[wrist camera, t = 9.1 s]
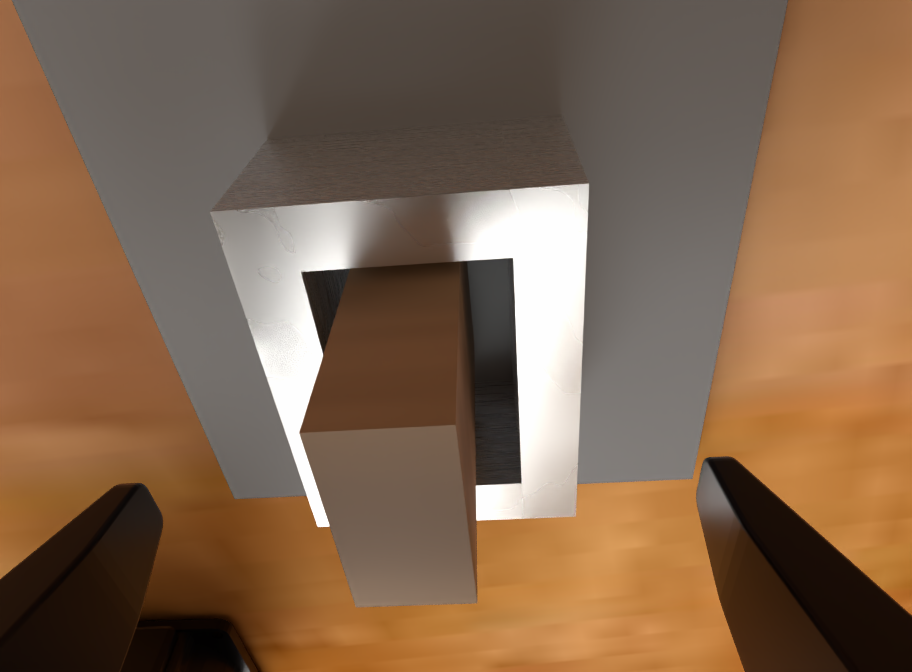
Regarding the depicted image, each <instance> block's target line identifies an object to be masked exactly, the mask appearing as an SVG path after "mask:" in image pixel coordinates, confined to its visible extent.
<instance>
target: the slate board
mask: <svg viewBox="0 0 912 672" xmlns="http://www.w3.org/2000/svg"><path fill="white" fill-rule="evenodd" d="M12 2H13V4H14V6H15V9H16V11H17V13H18V15H19V18H20V20H21V22H22V24H23V26H24V29H25V31H26V33H27V35H28V38H29V40H30V42H31V44H32V47H33V49H34V51H35V53H36V56H37V58H38V60H39V62H40V65H41V67H42V69H43V71H44V73H45V76H46V78H47V80H48V82H49V85H50V87H51V89H52V91H53V94H54V96H55V98H56V100H57V103H58V105H59V107H60V109H61V112H62V114H63V116H64V118H65V121H66V123H67V125H68V127H69V129H70V132H71V134H72V136H73V138H74V141H75V143H76V145H77V147H78V150H79V152H80V154H81V156H82V159H83V161H84V163H85V165H86V168H87V170H88V172H89V174H90V176H91V179H92V181H93V183H94V185H95V188H96V190H97V192H98V194H99V197H100V199H101V201H102V203H103V206H104V208H105V210H106V212H107V215H108V217H109V219H110V221H111V223H112V226H113V228H114V230H115V232H116V235H117V237H118V239H119V241H120V244H121V246H122V248H123V250H124V253H125V255H126V257H127V259H128V262H129V264H130V266H131V268H132V270H133V273H134V275H135V277H136V279H137V282H138V284H139V286H140V288H141V291H142V293H143V295H144V297H145V300H146V302H147V304H148V306H149V309H150V311H151V313H152V315H153V318H154V320H155V322H156V324H157V326H158V329H159V331H160V333H161V335H162V338H163V340H164V342H165V344H166V347H167V349H168V351H169V353H170V356H171V358H172V360H173V362H174V365H175V367H176V369H177V371H178V373H179V376H180V378H181V380H182V382H183V385H184V387H185V389H186V391H187V394H188V396H189V398H190V400H191V403H192V405H193V407H194V409H195V412H196V414H197V416H198V418H199V420H200V423H201V425H202V427H203V429H204V432H205V434H206V436H207V438H208V441H209V443H210V445H211V447H212V450H213V452H214V454H215V456H216V459H217V461H218V463H219V465H220V467H221V470H222V472H223V474H224V476H225V479H226V481H227V483H228V485H229V488H230V490H231V492H232V494H233V497H234V499H246V498H269V497H292V496H307V494H306V491H305V488H304V485H303V482H302V480H301V477H300V474H299V471H298V468H297V465H296V462H295V459H294V456H293V453H292V450H291V447H290V444H289V442H288V439H287V436H286V433H285V430H284V427H283V424H282V421H281V418H280V415H279V412H278V409H277V406H276V404H275V401H274V398H273V395H272V392H271V389H270V386H269V383H268V380H267V377H266V374H265V371H264V368H263V365H262V363H261V360H260V357H259V354H258V351H257V348H256V345H255V342H254V339H253V336H252V333H251V330H250V327H249V325H248V322H247V319H246V316H245V313H244V310H243V307H242V304H241V301H240V298H239V295H238V292H237V289H236V287H235V284H234V281H233V278H232V275H231V272H230V269H229V266H228V263H227V260H226V257H225V254H224V251H223V248H222V246H221V243H220V240H219V237H218V234H217V231H216V228H215V225H214V222H213V219H212V216H211V213H210V211H211V210H212V209H213V207H214V206H215V205H216V203H217V202H218V201H219V200H220V198H221V197H222V196H223V195H224V193H225V192H226V191H227V190H228V188H229V187H230V186H231V185H232V183H233V182H234V181H235V179H236V178H237V177H238V176H239V174H240V173H241V172H242V171H243V169H244V168H245V167H246V166H247V164H248V163H249V162H250V161H251V159H252V158H253V157H254V155H255V154H256V153H257V152H258V150H259V149H260V148H261V147H262V145H263V144H264V143H265V142H266V140H267V139H276V138H289V137H301V136H313V135H325V134H338V133H350V132H362V131H374V130H386V129H399V128H411V127H423V126H435V125H448V124H460V123H472V122H484V121H496V120H509V119H521V118H533V117H545V116H558V115H562V117H563V119H564V122H565V124H566V127H567V129H568V132H569V134H570V137H571V139H572V142H573V144H574V147H575V149H576V152H577V154H578V157H579V159H580V162H581V164H582V167H583V169H584V172H585V174H586V177H587V179H588V182H589V200H588V225H587V249H586V274H585V299H584V324H583V348H582V373H581V398H580V423H579V447H578V472H577V484H587V483H610V482H633V481H656V480H678V479H692V478H693V473H694V468H695V463H696V458H697V453H698V448H699V443H700V438H701V433H702V428H703V423H704V418H705V413H706V408H707V403H708V398H709V393H710V388H711V383H712V378H713V373H714V368H715V363H716V358H717V353H718V348H719V343H720V338H721V333H722V328H723V323H724V318H725V313H726V308H727V303H728V298H729V293H730V288H731V283H732V278H733V273H734V268H735V263H736V258H737V253H738V248H739V243H740V238H741V233H742V228H743V223H744V218H745V213H746V208H747V203H748V198H749V193H750V188H751V183H752V178H753V173H754V168H755V163H756V158H757V153H758V148H759V143H760V138H761V133H762V128H763V123H764V118H765V113H766V108H767V103H768V98H769V93H770V88H771V83H772V78H773V73H774V68H775V63H776V58H777V53H778V48H779V43H780V38H781V33H782V28H783V23H784V18H785V13H786V8H787V3H788V0H12ZM467 267H468V278H469V290H470V301H471V312H472V323H473V335H474V350H475V382H492V381H510V380H513V376H512V353H511V330H510V307H509V284H508V260H507V258H500V259H485V260H470V261H467Z"/></svg>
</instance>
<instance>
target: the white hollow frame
mask: <svg viewBox="0 0 912 672" xmlns="http://www.w3.org/2000/svg"><path fill="white" fill-rule="evenodd" d="M588 200H589V182H588V179H587V177H586V174H585V172H584V169H583V167H582V164H581V162H580V159H579V157H578V154H577V152H576V149H575V147H574V144H573V142H572V139H571V137H570V134H569V132H568V129H567V127H566V124H565V122H564V119H563V117H562V115H558V116H545V117H533V118H521V119H509V120H496V121H484V122H472V123H460V124H448V125H435V126H423V127H411V128H399V129H386V130H374V131H362V132H350V133H338V134H325V135H313V136H301V137H289V138H276V139H267V140H266V142H265V143H264V144H263V145H262V147H261V148H260V149H259V150H258V152H257V153H256V154H255V155H254V157H253V158H252V159H251V161H250V162H249V163H248V164H247V166H246V167H245V168H244V169H243V171H242V172H241V173H240V174H239V176H238V177H237V178H236V179H235V181H234V182H233V183H232V185H231V186H230V187H229V188H228V190H227V191H226V192H225V193H224V195H223V196H222V197H221V198H220V200H219V201H218V202H217V203H216V205H215V206H214V207H213V209H212V210H211V211H210V213H211V216H212V219H213V222H214V225H215V228H216V231H217V234H218V237H219V240H220V243H221V246H222V248H223V251H224V254H225V257H226V260H227V263H228V266H229V269H230V272H231V275H232V278H233V281H234V284H235V287H236V289H237V292H238V295H239V298H240V301H241V304H242V307H243V310H244V313H245V316H246V319H247V322H248V325H249V327H250V330H251V333H252V336H253V339H254V342H255V345H256V348H257V351H258V354H259V357H260V360H261V363H262V365H263V368H264V371H265V374H266V377H267V380H268V383H269V386H270V389H271V392H272V395H273V398H274V401H275V404H276V406H277V409H278V412H279V415H280V418H281V421H282V424H283V427H284V430H285V433H286V436H287V439H288V442H289V444H290V447H291V450H292V453H293V456H294V459H295V462H296V465H297V468H298V471H299V474H300V477H301V480H302V482H303V485H304V488H305V491H306V494H307V497H308V500H309V503H310V506H311V509H312V512H313V515H314V518H315V521H316V523H317V526H318V527H328V526H329V523H328V520H327V517H326V514H325V511H324V508H323V505H322V502H321V499H320V496H319V492H318V489H317V486H316V483H315V480H314V477H313V474H312V471H311V468H310V465H309V462H308V459H307V456H306V453H305V450H304V447H303V444H302V440H301V437H300V434H299V432H300V428H301V425H302V422H303V419H304V416H305V412H306V409H307V406H308V403H309V399H310V396H311V393H312V390H313V386H314V383H315V380H316V377H317V374H318V370H319V367H320V364H321V361H322V357H323V354H324V351H325V348H326V345H327V341H328V338H329V335H330V332H331V328H332V325H333V322H334V319H335V316H336V312H337V309H338V306H339V303H340V299H341V296H342V293H343V290H344V286H345V283H346V280H347V277H348V274H349V270H350V269H352V268H367V267H382V266H396V265H411V264H426V263H441V262H456V261H470V260H485V259H500V258H507V260H508V284H509V307H510V330H511V353H512V376H513V380H510V381H492V382H475V439H476V520H500V519H525V518H550V517H574V516H576V497H577V472H578V447H579V423H580V398H581V373H582V348H583V324H584V299H585V274H586V249H587V225H588Z"/></svg>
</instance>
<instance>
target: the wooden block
mask: <svg viewBox="0 0 912 672" xmlns="http://www.w3.org/2000/svg"><path fill="white" fill-rule="evenodd" d="M299 434H300V437H301V440H302V444H303V447H304V450H305V453H306V456H307V459H308V462H309V465H310V468H311V471H312V474H313V477H314V480H315V483H316V486H317V489H318V492H319V496H320V499H321V502H322V505H323V508H324V511H325V514H326V517H327V520H328V523H329V526H330V529H331V532H332V535H333V538H334V541H335V544H336V548H337V551H338V554H339V557H340V560H341V563H342V566H343V569H344V572H345V575H346V578H347V581H348V584H349V587H350V590H351V593H352V596H353V599H354V603H355V606H356V607H380V606H410V605H440V604H471V603H477V528H476V439H475V350H474V335H473V323H472V312H471V301H470V290H469V278H468V267H467V261H456V262H441V263H426V264H411V265H396V266H382V267H367V268H352V269H350V270H349V274H348V277H347V280H346V283H345V286H344V290H343V293H342V296H341V299H340V303H339V306H338V309H337V312H336V316H335V319H334V322H333V325H332V328H331V332H330V335H329V338H328V341H327V345H326V348H325V351H324V354H323V357H322V361H321V364H320V367H319V370H318V374H317V377H316V380H315V383H314V386H313V390H312V393H311V396H310V399H309V403H308V406H307V409H306V412H305V416H304V419H303V422H302V425H301V428H300V432H299Z"/></svg>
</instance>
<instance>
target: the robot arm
mask: <svg viewBox="0 0 912 672" xmlns="http://www.w3.org/2000/svg"><path fill="white" fill-rule="evenodd" d="M696 500H697V507H698V512H699V516H700V520H701V525H702V529H703V533H704V537H705V541H706V546H707V550H708V554H709V558H710V563H711V567H712V571H713V575H714V580H715V584H716V588H717V592H718V596H719V600H720V603H721V606H722V609H723V612H724V615H725V618H726V620H727V623H728V626H729V629H730V632H731V634H732V637H733V640H734V643H735V645H736V648H737V651H738V654H739V657H740V659H741V662H742V665H743V668H744V671H745V672H912V615H911V614H909V613H908V612H907V611H906V610H905V609H904V608H903V607H902V606H900V605H899V604H898V603H897V602H896V601H895V600H894V599H893V598H891V597H890V596H889V595H888V594H887V593H886V592H885V591H884V590H882V589H881V588H880V587H879V586H878V585H877V584H876V583H875V582H873V581H872V580H871V579H870V578H869V577H868V576H867V575H866V574H864V573H863V572H862V571H861V570H860V569H859V568H858V567H857V566H855V565H854V564H853V563H852V562H851V561H850V560H849V559H848V558H846V557H845V556H844V555H843V554H842V553H841V552H840V551H839V550H837V549H836V548H835V547H834V546H833V545H832V544H831V543H830V542H828V541H827V540H826V539H825V538H824V537H823V536H822V535H821V534H819V533H818V532H817V531H816V530H815V529H814V528H813V527H812V526H810V525H809V524H808V523H807V522H806V521H805V520H804V519H803V518H801V517H800V516H799V515H798V514H797V513H796V512H795V511H794V510H792V509H791V508H790V507H789V506H788V505H787V504H786V503H785V502H783V501H782V500H781V499H780V498H779V497H778V496H777V495H776V494H774V493H773V492H772V491H771V490H770V489H769V488H768V487H766V486H765V485H764V484H763V483H762V482H761V481H760V480H759V479H757V478H756V477H755V476H754V475H753V474H752V473H751V472H750V471H748V470H747V469H746V468H745V467H744V466H743V465H742V464H741V463H739V462H738V461H737V460H736V459H734V458H732V457H708V458H706V459H705V460H704V461H703V464H702V468H701V473H700V478H699V483H698V487H697V493H696ZM162 528H163V518H162V514H161V512H160V510H159V508H158V506H157V505H156V503H155V501H154V499H153V497H152V496H151V494H150V492H149V490H148V489H147V487H146V486H145V485H143V484H142V483H127V484H118V485H116V486H114V487H113V488H111V489H110V490H109V491H107V492H106V493H105V494H104V495H103V496H101V497H100V498H99V499H98V500H96V501H95V502H94V503H93V504H92V505H90V506H89V507H88V508H87V509H85V510H84V511H83V512H82V513H81V514H79V515H78V516H77V517H76V518H74V519H73V520H72V521H71V522H70V523H68V524H67V525H66V526H65V527H63V528H62V529H61V530H60V531H59V532H57V533H56V534H55V535H54V536H52V537H51V538H50V539H49V540H48V541H46V542H45V543H44V544H43V545H41V546H40V547H39V548H38V549H37V550H35V551H34V552H33V553H32V554H30V555H29V556H28V557H27V558H26V559H24V560H23V561H22V562H21V563H19V564H18V565H17V566H16V567H15V568H13V569H12V570H11V571H10V572H8V573H7V574H6V575H5V576H3V577H2V578H1V579H0V672H258V671H257V669H256V667H255V665H254V663H253V662H252V660H251V658H250V656H249V654H248V652H247V651H246V649H245V647H244V645H243V643H242V641H241V640H240V638H239V636H238V634H237V632H236V631H235V629H234V627H233V625H232V624H231V623H230V622H228V621H226V620H223V619H196V620H164V621H139V618H140V614H141V611H142V607H143V604H144V600H145V596H146V592H147V588H148V584H149V580H150V576H151V572H152V568H153V564H154V560H155V556H156V552H157V549H158V545H159V541H160V537H161V533H162Z"/></svg>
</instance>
